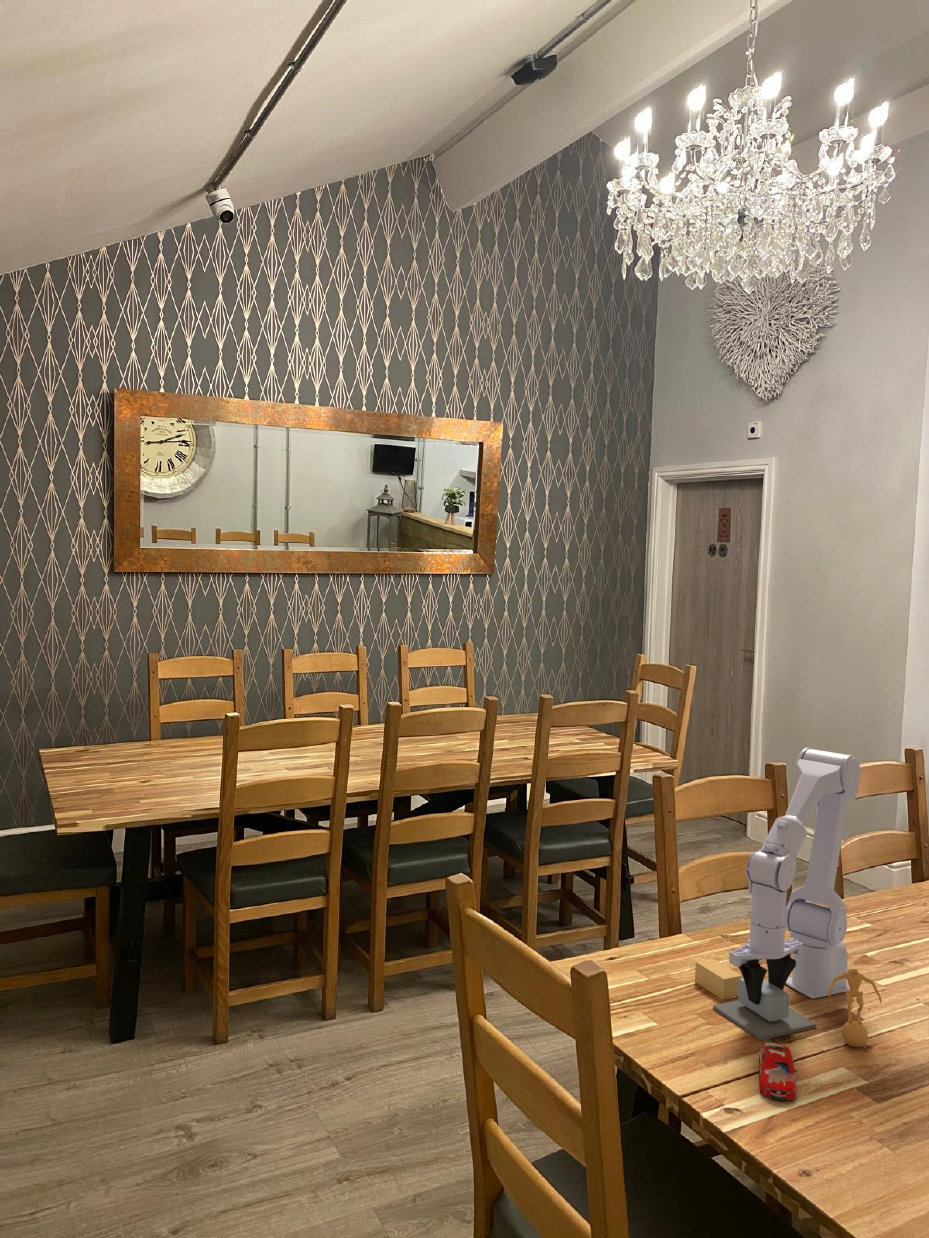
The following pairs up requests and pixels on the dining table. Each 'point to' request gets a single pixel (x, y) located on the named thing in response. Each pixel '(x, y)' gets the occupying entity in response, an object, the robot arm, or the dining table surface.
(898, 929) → the dining table surface
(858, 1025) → the figurine
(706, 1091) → the dining table surface
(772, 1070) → the race car
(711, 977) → the ochre brick
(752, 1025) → the mat
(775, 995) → the slate brick
